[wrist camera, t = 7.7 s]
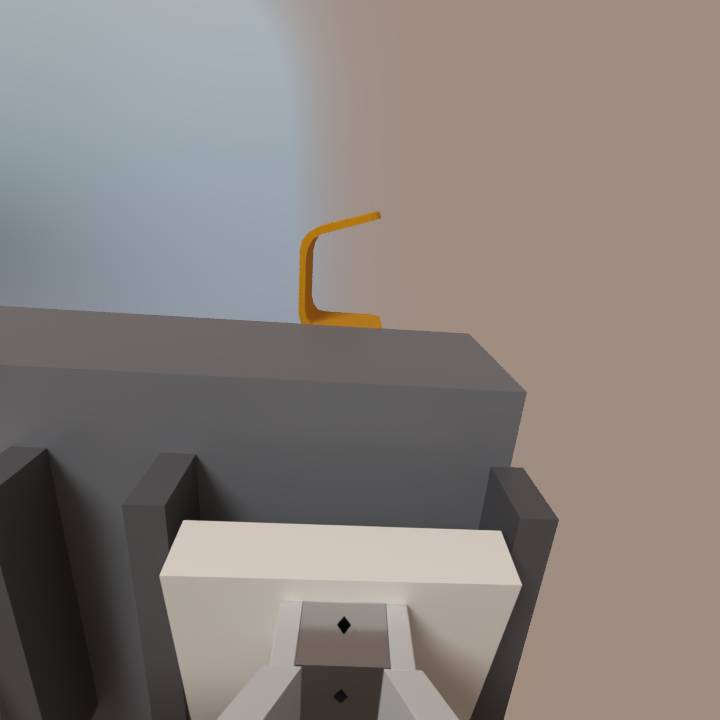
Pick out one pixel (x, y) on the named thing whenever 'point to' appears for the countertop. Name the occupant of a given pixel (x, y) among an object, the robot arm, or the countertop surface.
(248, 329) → the power panel
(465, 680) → the block
